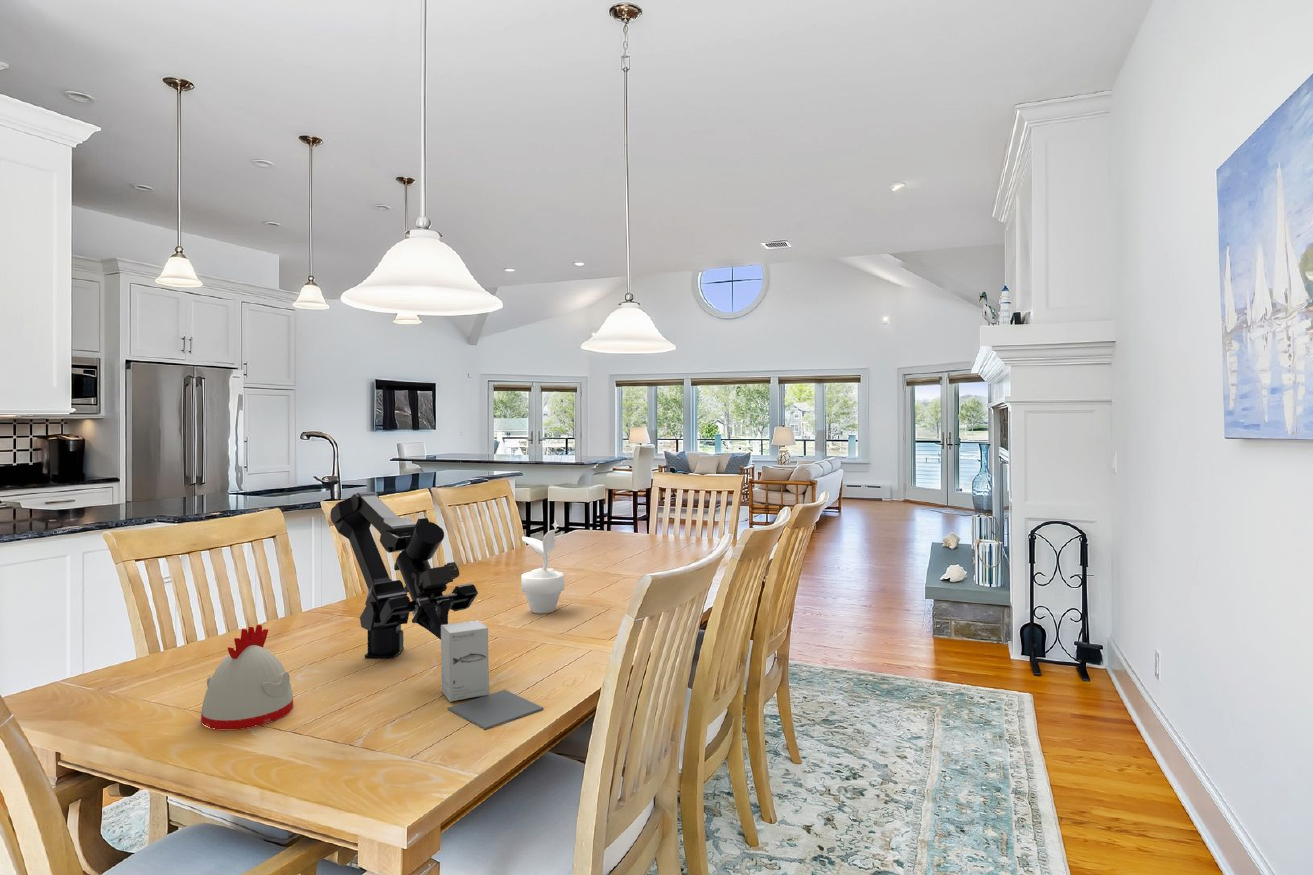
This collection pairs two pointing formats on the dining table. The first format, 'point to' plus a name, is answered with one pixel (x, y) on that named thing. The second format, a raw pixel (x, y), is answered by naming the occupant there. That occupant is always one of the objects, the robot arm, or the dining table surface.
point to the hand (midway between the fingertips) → (445, 639)
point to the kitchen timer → (247, 686)
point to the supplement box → (464, 660)
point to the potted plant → (543, 577)
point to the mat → (495, 709)
